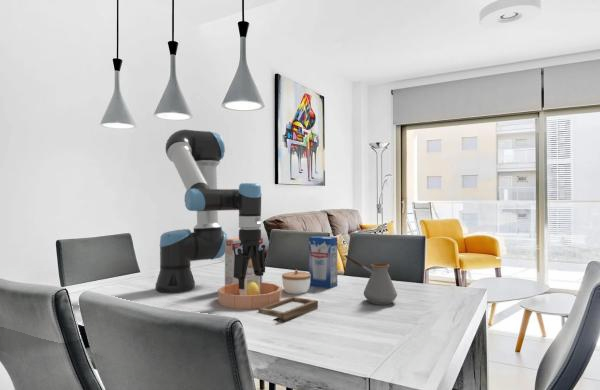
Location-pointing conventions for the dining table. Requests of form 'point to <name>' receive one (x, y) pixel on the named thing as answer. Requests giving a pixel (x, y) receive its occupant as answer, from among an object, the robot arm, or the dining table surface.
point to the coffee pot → (378, 284)
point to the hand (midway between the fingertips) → (249, 296)
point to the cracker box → (229, 262)
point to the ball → (252, 288)
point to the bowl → (249, 296)
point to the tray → (293, 312)
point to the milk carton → (323, 261)
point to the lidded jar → (296, 282)
